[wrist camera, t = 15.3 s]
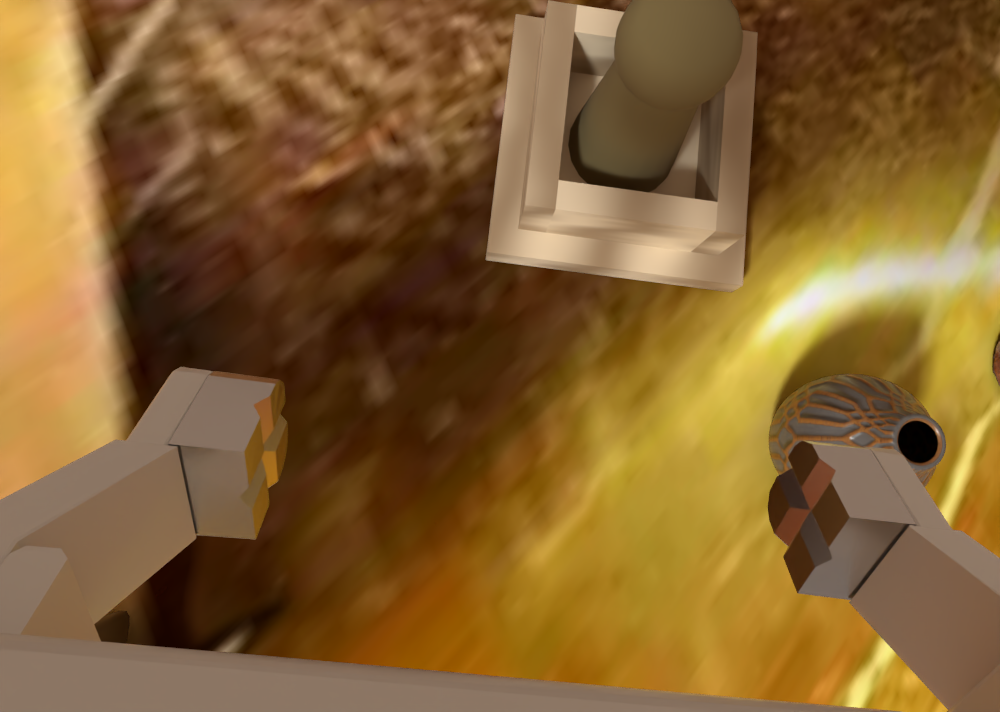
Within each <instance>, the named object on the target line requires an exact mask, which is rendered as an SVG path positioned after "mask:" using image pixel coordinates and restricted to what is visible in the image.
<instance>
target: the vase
mask: <svg viewBox="0 0 1000 712" xmlns="http://www.w3.org/2000/svg"><path fill="white" fill-rule="evenodd" d="M802 440H803V441H813V442H822V443H831V444H840V445H850V446H858V447H875V448H885V449H895V450H896V451H898V452H899V453H901V454H902V455H903V456H904V457H905V459H906V460H907V462H908V463H909V465H910V466H911V468H912V469H913V471H914V472H915V474H916V475H917V477H918V478H919V480H920V482H921V483H922V485H923V486H924V487H925V486H926V485H927V483H928V482H929V481H930V479H931V477H932V475H933V473H934V471H935V468H936V465H937V464H938V463H939V462H940V461H941V459H942V458H943V456H944V453H945V448H946V441H945V436H944V433H943V431H942V429H941V427H940V426H939V425H938V423H937V422H936V421H934V420H933V419H932V418H931V417H930V415H929V413H928V412H927V410H926V409H925V408H924V406H923V405H922V404H921V403H920V402H919V401H918V400H917V399H916V398H915V397H914V396H913V395H912V394H910V393H909V392H907V391H906V390H904V389H903V388H901V387H899V386H898V385H896V384H893V383H891V382H889V381H886V380H883V379H880V378H876V377H873V376H867V375H861V374H839V375H832V376H828V377H824V378H820V379H817V380H814V381H812V382H809V383H807V384H805V385H803V386H802V387H800V388H799V389H797V390H796V391H794V392H793V393H792V394H791V395H790V396H788V397H787V398H786V400H785V401H784V402H783V403H782V404H781V405H780V407H779V408H778V410H777V412H776V413H775V415H774V418H773V420H772V423H771V427H770V431H769V450H770V455H771V458H772V461H773V464H774V466H775V468H776V470H777V472H778V474H779V475H781V474H783V473H784V472H786V471H788V470H789V469H791V465H790V462H789V459H788V456H789V455H790V453H791V451H792V450H793V448H794V446H795V445H797V444H798V443H799V442H801V441H802Z"/></svg>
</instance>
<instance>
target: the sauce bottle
mask: <svg viewBox="0 0 1000 712" xmlns="http://www.w3.org/2000/svg"><path fill="white" fill-rule="evenodd" d="M993 359H994V361H993V363H994V364H993V373H994V374H995V376H996V379H997V381H998V383H999V385H1000V340H999V342H998V344H997V346H996V350H995V354H994V357H993Z"/></svg>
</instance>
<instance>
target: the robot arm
mask: <svg viewBox="0 0 1000 712" xmlns="http://www.w3.org/2000/svg"><path fill="white" fill-rule="evenodd" d="M284 403H285V391H284V384H283V383H282V382H281V381H280V380H276V379H269V378H262V377H255V376H248V375H240V374H233V373H226V372H219V371H214V372H212V371H207V370H200V369H192V368H185V367H180V368H178V369H176V370H175V371H173V372H172V373H171V375H170V376H169V378H168V379H167V380H166V382H165V383H164V385H163V386H162V388H161V389H160V391H159V392H158V394H157V395H156V397H155V398H154V400H153V401H152V403H151V404H150V406H149V407H148V409H147V410H146V412H145V413H144V415H143V416H142V418H141V419H140V421H139V422H138V424H137V425H136V427H135V428H134V430H133V431H132V433H131V434H130V436H129V437H128V439H127V440H126V441H122V440H114V441H112V442H110V443H108V444H106V445H105V446H103V447H101V448H99V449H97V450H95V451H93V452H91V453H89V454H87V455H85V456H84V457H82V458H80V459H78V460H76V461H74V462H72V463H70V464H68V465H66V466H64V467H62V468H61V469H59V470H57V471H55V472H53V473H51V474H49V475H47V476H45V477H43V478H41V479H39V480H38V481H36V482H34V483H32V484H30V485H28V486H26V487H24V488H22V489H20V490H18V491H17V492H15V493H13V494H11V495H9V496H7V497H5V498H3V499H1V500H0V712H900V711H888V710H877V709H865V708H854V707H843V706H831V705H819V704H808V703H796V702H785V701H773V700H762V699H750V698H738V697H727V696H715V695H704V694H692V693H681V692H669V691H657V690H646V689H634V688H623V687H612V686H600V685H589V684H578V683H567V682H555V681H544V680H533V679H522V678H510V677H499V676H488V675H477V674H465V673H454V672H443V671H431V670H420V669H409V668H397V667H386V666H374V665H363V664H352V663H340V662H329V661H318V660H306V659H295V658H283V657H272V656H261V655H249V654H238V653H227V652H215V651H204V650H192V649H181V648H170V647H158V646H147V645H135V644H124V643H113V642H101V640H100V638H99V635H98V633H97V630H96V628H95V625H94V624H95V623H96V622H98V621H99V620H100V619H101V618H102V617H104V616H105V615H106V614H107V613H108V612H109V611H111V610H112V609H113V608H114V607H115V606H117V605H118V604H119V603H120V602H121V601H123V600H124V599H125V598H126V597H127V596H128V595H130V594H131V593H132V592H133V591H134V590H136V589H137V588H138V587H139V586H140V585H142V584H143V583H144V582H145V581H146V580H147V579H149V578H150V577H151V576H152V575H153V574H155V573H156V572H157V571H158V570H159V569H161V568H162V567H163V566H164V565H165V564H166V563H168V562H169V561H170V560H171V559H172V558H174V557H175V556H176V555H177V554H178V553H180V552H181V551H182V550H183V549H184V548H185V547H187V546H188V545H189V544H190V543H191V542H193V541H194V540H195V539H196V535H203V536H217V537H231V538H245V539H256V537H257V534H258V532H259V529H260V527H261V524H262V521H263V519H264V516H265V514H266V511H267V509H268V506H269V496H268V488H269V487H270V486H272V485H273V484H275V483H276V482H277V481H278V479H279V477H280V474H281V471H282V468H283V465H284V460H285V455H286V450H287V439H288V429H287V422H286V420H285V419H284V418H283V417H282V416H281V415H280V413H281V410H282V408H283V405H284ZM788 459H789V462H790V465H791V469H789V470H788V471H786V472H784V473H783V474H781V475H779V476H778V477H777V478H776V480H775V482H774V484H773V486H772V488H771V490H770V494H769V502H768V513H769V520H770V523H771V526H772V528H773V531H774V534H775V535H777V536H778V537H779V538H780V539H781V540H782V541H783V542H784V543H785V544H786V545H787V546H788V548H787V550H786V552H785V554H784V560H785V562H786V565H787V568H788V570H789V573H790V575H791V578H792V580H793V583H794V585H795V588H796V590H797V593H800V594H808V595H816V596H824V597H831V598H839V599H847V600H851V601H850V602H849V603H850V604H851V605H852V606H853V607H854V608H855V609H856V610H857V611H858V612H859V613H860V614H861V616H862V617H863V618H864V619H865V620H866V621H867V622H868V623H869V624H870V625H871V626H872V627H873V629H874V630H875V631H876V632H877V633H878V634H879V635H880V636H881V637H882V638H883V639H884V640H885V642H886V643H887V644H888V645H889V646H890V647H891V648H892V649H893V650H894V651H895V652H896V654H897V655H898V656H899V657H900V658H901V659H902V660H903V661H904V662H905V663H906V664H907V665H908V667H909V668H910V669H911V670H912V671H913V672H914V673H915V674H916V675H917V676H918V677H919V678H920V680H921V681H922V682H923V683H924V684H925V685H926V686H927V687H928V688H929V689H930V690H931V691H932V693H933V694H934V695H935V696H936V697H937V698H938V699H939V700H940V701H941V702H942V703H943V705H944V706H945V707H946V708H947V709H948V711H947V712H1000V558H999V557H997V556H996V555H994V554H993V553H992V552H990V551H989V550H987V549H986V548H985V547H983V546H982V545H981V544H979V543H978V542H976V541H975V540H974V539H972V538H971V537H969V536H968V535H967V534H965V533H964V532H963V531H957V530H952V529H951V527H950V526H949V524H948V523H947V521H946V520H945V518H944V517H943V515H942V513H941V512H940V510H939V509H938V507H937V506H936V504H935V503H934V501H933V500H932V498H931V497H930V495H929V494H928V492H927V491H926V489H925V488H924V486H923V485H922V483H921V482H920V480H919V478H918V477H917V475H916V474H915V472H914V471H913V469H912V468H911V466H910V465H909V463H908V462H907V460H906V459H905V457H904V456H903V455H902V454H901V453H899V452H898V451H896V450H895V449H885V448H875V447H858V446H850V445H840V444H831V443H822V442H813V441H803V440H802V441H801V442H799V443H798V444H797V445H795V446H794V448H793V450H792V451H791V453H790V455H789V456H788Z"/></svg>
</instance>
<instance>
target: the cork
mask: <svg viewBox="0 0 1000 712" xmlns="http://www.w3.org/2000/svg"><path fill="white" fill-rule="evenodd" d="M742 44H743V32H742V27H741V23H740V18H739V14H738V11H737V10H736V8H735V6H734V5H733V3H732V1H731V0H632V1H631V3H630V4H629V5H628V6H627V8H626V10H625V12H624V14H623V16H622V18H621V20H620V22H619V25H618V28H617V30H616V38H615V45H614V58H615V60H614V62H613V63H612V65H611V66H610V68H609V69H608V71H607V72H606V74H605V75H604V77H603V78H602V80H601V81H600V83H599V84H598V86H597V87H596V89H595V90H594V92H593V93H592V94H591V96H590V97H589V99H588V100H587V102H586V103H585V105H584V106H583V108H582V109H581V111H580V112H579V114H578V115H577V117H576V119H575V121H574V123H573V125H572V127H571V129H570V136H569V142H568V147H569V152H570V157H571V162H572V163H573V165H574V167H575V169H576V171H577V172H578V174H579V176H580V177H581V178H582V179H583V180H584V181H585V182H586V183H587V184H591V185H598V186H605V187H613V188H620V189H627V190H634V191H642V192H650V191H652V190H654V189H656V188H657V187H658V186H659V185H660V184H661V183H662V182H663V181H664V180H665V179H666V178H667V177H668V175H669V173H670V170H671V168H672V166H673V164H674V162H675V160H676V157H677V155H678V153H679V151H680V148H681V146H682V144H683V141H684V139H685V137H686V134H687V132H688V130H689V127H690V125H691V123H692V120H693V118H694V116H695V113H696V111H697V109H698V106H699V105H700V104H702V103H705V102H706V101H708V100H710V99H711V98H713V97H714V96H715V95H716V94H717V93H718V92H719V91H720V90H721V89H722V88H723V87H724V86H725V85H726V84H727V82H728V81H729V80H730V79H731V77H732V75H733V73H734V71H735V69H736V67H737V65H738V63H739V60H740V56H741V53H742Z"/></svg>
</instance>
